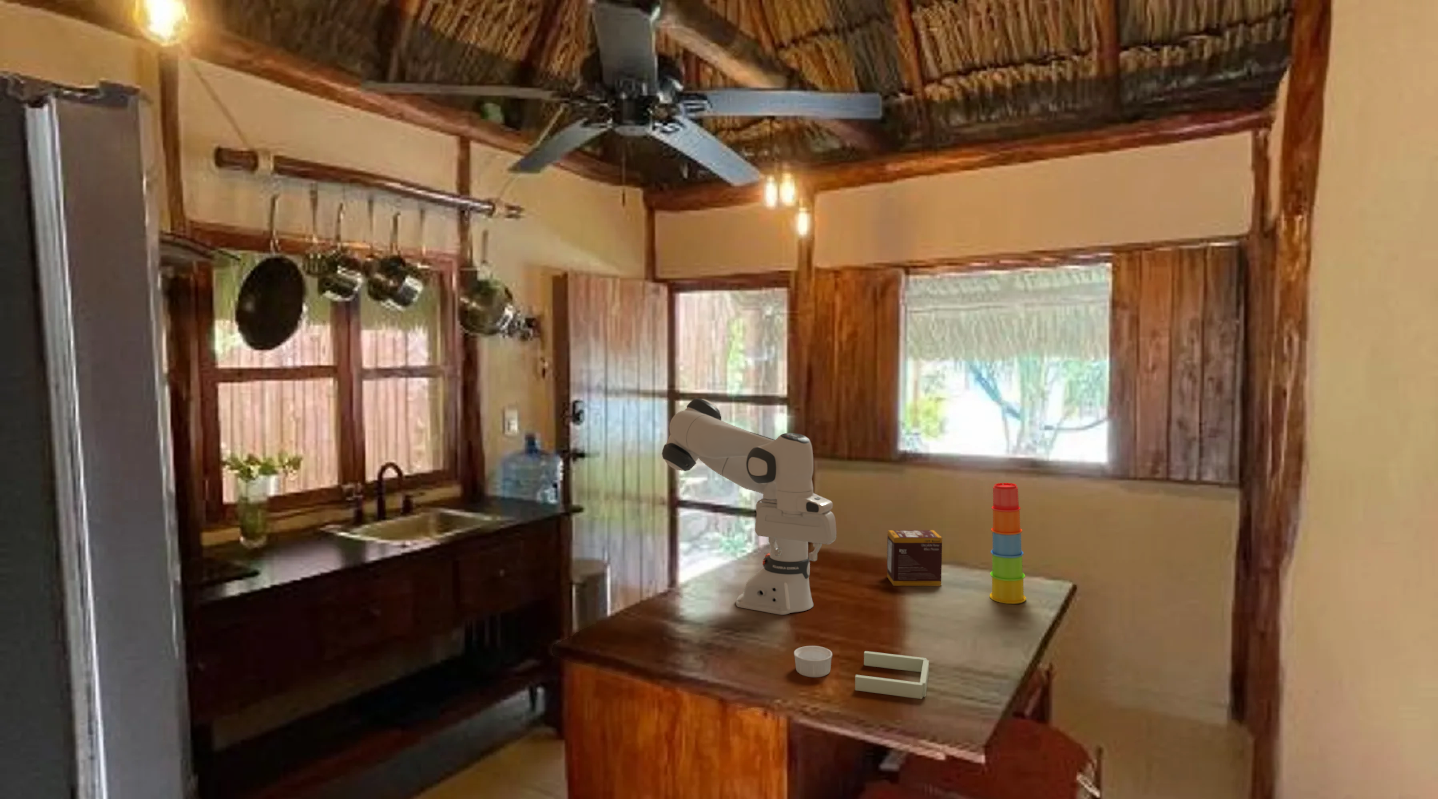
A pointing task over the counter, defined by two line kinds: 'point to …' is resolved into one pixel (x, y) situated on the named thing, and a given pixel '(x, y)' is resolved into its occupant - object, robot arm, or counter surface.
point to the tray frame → (891, 684)
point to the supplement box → (914, 557)
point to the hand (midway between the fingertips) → (794, 557)
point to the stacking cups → (1006, 546)
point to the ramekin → (813, 661)
